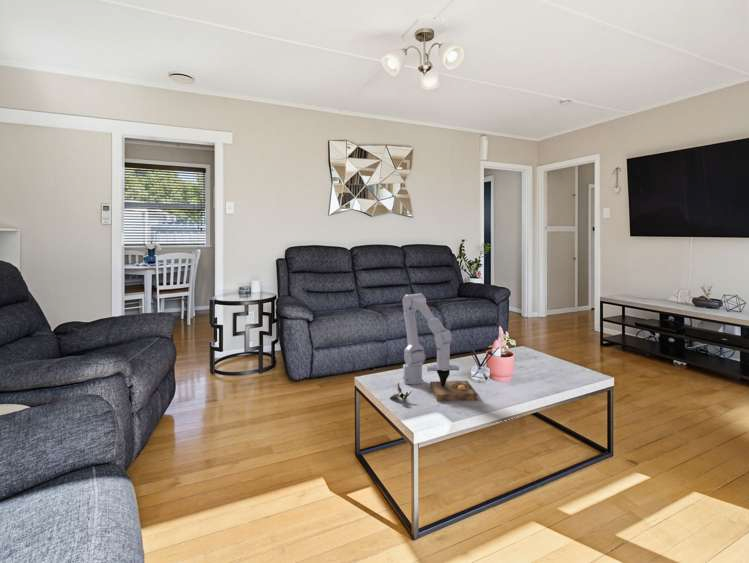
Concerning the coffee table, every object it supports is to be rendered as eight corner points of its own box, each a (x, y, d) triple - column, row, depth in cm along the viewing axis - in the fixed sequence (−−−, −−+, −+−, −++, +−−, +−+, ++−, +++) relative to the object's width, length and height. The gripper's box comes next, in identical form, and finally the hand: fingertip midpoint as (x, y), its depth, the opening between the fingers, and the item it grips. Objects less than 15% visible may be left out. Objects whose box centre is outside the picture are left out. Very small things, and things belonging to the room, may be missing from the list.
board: (436, 401, 177) (437, 394, 176) (430, 387, 193) (430, 381, 192) (477, 400, 178) (477, 393, 177) (467, 386, 194) (467, 380, 193)
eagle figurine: (414, 396, 179) (400, 387, 186) (410, 386, 175) (395, 378, 182) (402, 409, 176) (388, 399, 182) (398, 399, 172) (384, 389, 178)
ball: (468, 390, 183) (462, 396, 183) (466, 388, 187) (460, 394, 187) (462, 383, 183) (456, 390, 183) (460, 382, 187) (454, 388, 187)
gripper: (429, 360, 179) (428, 389, 180) (461, 359, 180) (460, 388, 181) (426, 355, 186) (425, 383, 187) (457, 354, 187) (456, 382, 188)
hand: (442, 385), depth 185 cm, fingers closed
